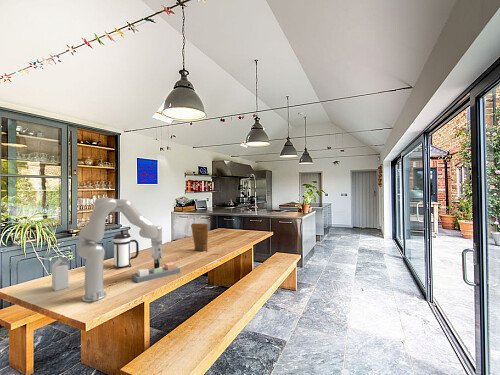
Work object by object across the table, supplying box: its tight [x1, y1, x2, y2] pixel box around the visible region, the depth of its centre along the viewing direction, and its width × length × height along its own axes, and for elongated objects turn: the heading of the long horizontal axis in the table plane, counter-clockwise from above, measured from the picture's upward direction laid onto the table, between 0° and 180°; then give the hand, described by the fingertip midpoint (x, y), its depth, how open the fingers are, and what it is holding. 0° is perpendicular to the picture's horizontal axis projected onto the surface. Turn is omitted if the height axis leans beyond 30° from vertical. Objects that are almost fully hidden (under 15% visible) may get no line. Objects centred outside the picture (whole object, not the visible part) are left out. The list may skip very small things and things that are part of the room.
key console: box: [131, 265, 181, 284], centre depth 189 cm, size 12×31×3 cm, turn 131°
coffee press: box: [111, 229, 140, 270], centre depth 211 cm, size 17×16×30 cm
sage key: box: [150, 265, 162, 273], centre depth 189 cm, size 6×6×5 cm
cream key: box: [136, 267, 150, 277], centre depth 182 cm, size 6×6×5 cm
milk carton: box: [51, 257, 69, 292], centre depth 167 cm, size 7×7×19 cm
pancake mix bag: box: [190, 222, 209, 252], centre depth 259 cm, size 7×19×28 cm, turn 65°
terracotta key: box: [163, 261, 176, 270], centre depth 196 cm, size 6×6×5 cm
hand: (156, 267), depth 189 cm, fingers closed
